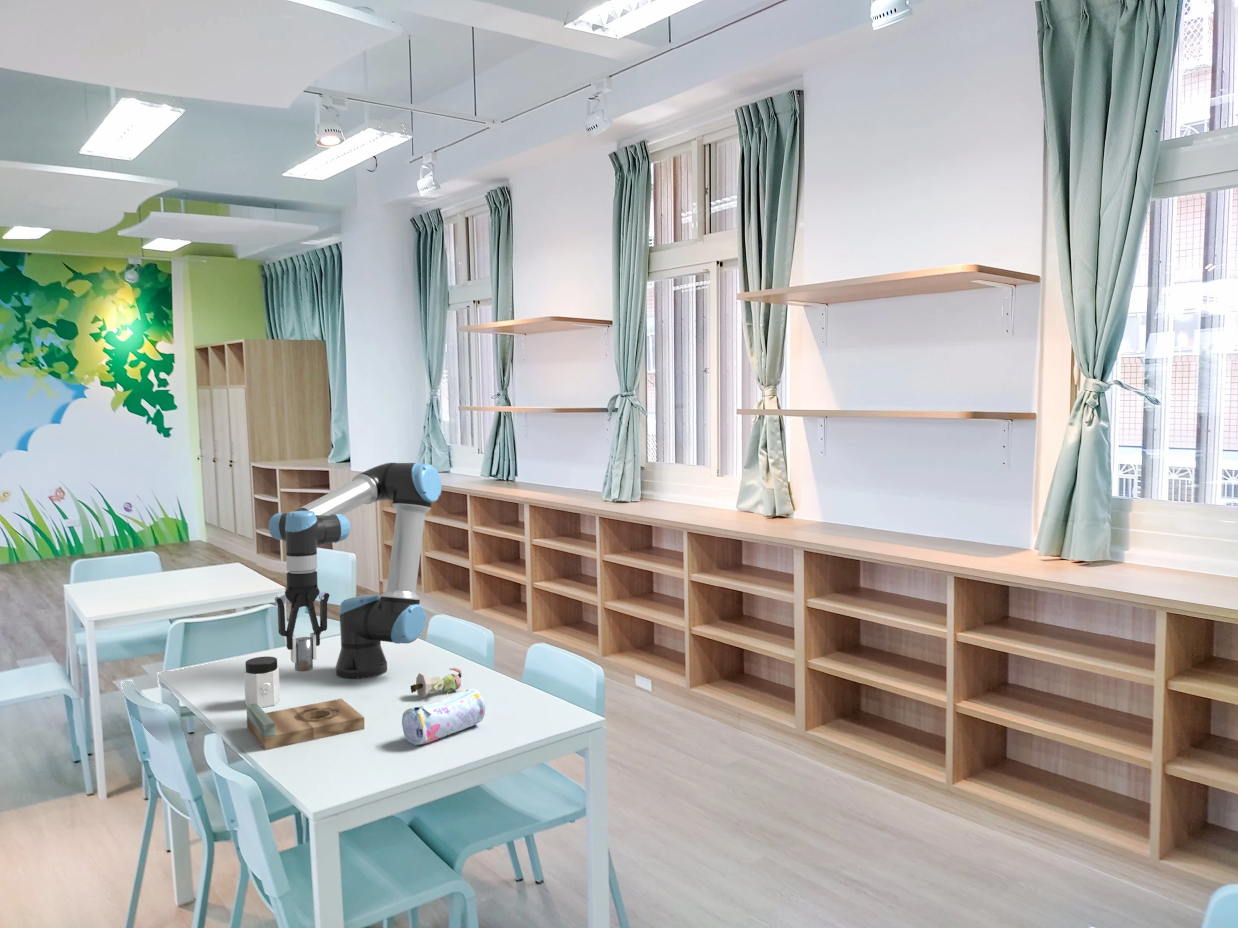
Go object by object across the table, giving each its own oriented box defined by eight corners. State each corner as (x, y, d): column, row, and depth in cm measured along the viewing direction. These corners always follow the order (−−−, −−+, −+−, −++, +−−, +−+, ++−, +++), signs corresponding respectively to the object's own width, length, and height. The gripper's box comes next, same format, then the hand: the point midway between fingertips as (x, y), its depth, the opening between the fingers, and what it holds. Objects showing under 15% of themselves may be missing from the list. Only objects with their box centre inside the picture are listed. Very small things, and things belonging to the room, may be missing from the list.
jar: (248, 710, 244) (247, 666, 243) (242, 702, 251) (240, 659, 250) (283, 704, 249) (281, 661, 248) (276, 696, 256) (274, 654, 255)
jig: (341, 709, 244) (341, 687, 244) (364, 728, 229) (363, 705, 229) (247, 728, 231) (246, 704, 230) (265, 749, 216) (264, 725, 215)
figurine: (420, 698, 248) (470, 690, 256) (417, 671, 250) (467, 664, 258) (408, 702, 254) (457, 694, 263) (405, 675, 256) (454, 668, 265)
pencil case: (419, 750, 215) (418, 711, 214) (398, 741, 221) (397, 703, 220) (488, 726, 230) (487, 690, 230) (467, 719, 236) (466, 683, 235)
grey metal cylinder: (310, 666, 240) (309, 636, 240) (314, 669, 237) (314, 639, 236) (293, 668, 238) (292, 638, 238) (297, 672, 234) (296, 641, 234)
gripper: (331, 565, 244) (333, 652, 245) (263, 571, 235) (265, 661, 236) (339, 569, 238) (341, 658, 239) (269, 576, 228) (271, 668, 229)
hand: (303, 659), depth 237 cm, fingers closed on grey metal cylinder, 4 cm apart
